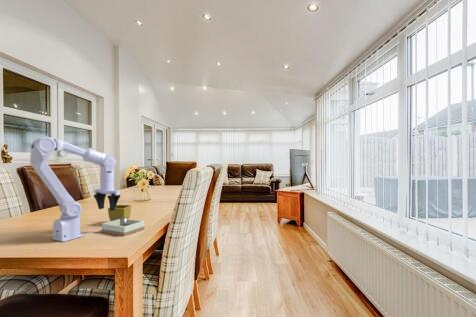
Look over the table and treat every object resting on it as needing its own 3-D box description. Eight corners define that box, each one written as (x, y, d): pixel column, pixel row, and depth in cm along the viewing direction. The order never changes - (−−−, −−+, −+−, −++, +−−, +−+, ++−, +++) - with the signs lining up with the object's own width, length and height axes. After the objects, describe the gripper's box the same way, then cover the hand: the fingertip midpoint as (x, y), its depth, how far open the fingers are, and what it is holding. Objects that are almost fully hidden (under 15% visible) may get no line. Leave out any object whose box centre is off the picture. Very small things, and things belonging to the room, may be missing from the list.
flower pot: (124, 225, 132) (124, 208, 132) (107, 225, 132) (107, 207, 132) (131, 221, 141) (131, 204, 141) (115, 221, 141) (115, 204, 141)
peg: (123, 232, 121) (123, 219, 121) (118, 231, 122) (118, 218, 122) (128, 230, 124) (128, 217, 124) (123, 229, 125) (123, 217, 125)
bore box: (124, 236, 115) (124, 227, 115) (101, 232, 121) (102, 223, 120) (144, 229, 126) (144, 221, 126) (122, 226, 131) (123, 218, 131)
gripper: (125, 180, 124) (125, 209, 124) (103, 179, 130) (103, 206, 130) (112, 181, 118) (112, 212, 118) (90, 180, 124) (90, 209, 124)
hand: (106, 209), depth 123 cm, fingers open, 7 cm apart
